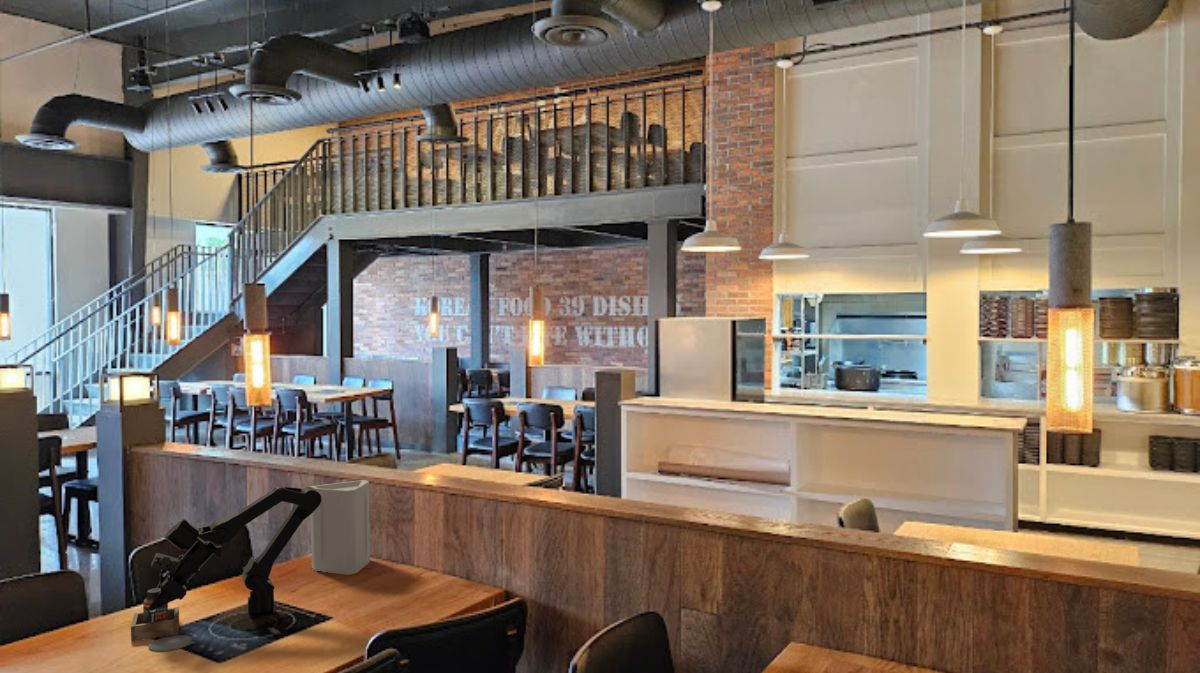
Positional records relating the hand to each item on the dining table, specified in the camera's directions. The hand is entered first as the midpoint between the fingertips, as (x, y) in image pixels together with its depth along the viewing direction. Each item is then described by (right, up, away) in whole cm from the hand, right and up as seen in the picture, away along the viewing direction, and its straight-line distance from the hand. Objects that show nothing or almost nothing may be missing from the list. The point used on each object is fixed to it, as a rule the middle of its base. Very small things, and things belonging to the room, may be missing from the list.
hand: (149, 606), depth 225 cm
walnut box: (+1, -7, +1) cm, 7 cm away
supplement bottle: (+1, -7, +1) cm, 7 cm away
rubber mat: (+10, -7, -8) cm, 15 cm away
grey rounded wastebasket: (+36, -6, +56) cm, 67 cm away
